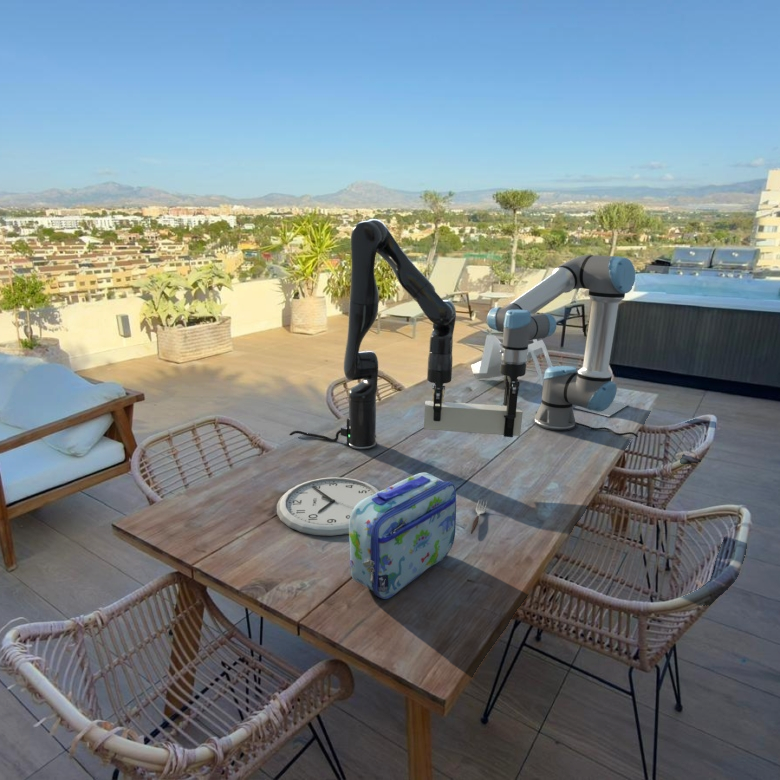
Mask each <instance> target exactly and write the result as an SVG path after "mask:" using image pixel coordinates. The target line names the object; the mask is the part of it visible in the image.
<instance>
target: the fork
mask: <svg viewBox="0 0 780 780" xmlns="http://www.w3.org/2000/svg"><path fill="white" fill-rule="evenodd" d="M482 502H483V503H482ZM487 503H488V500H486V501H485V499H484V500H483V499H481V500H480V498H478V501H477V503H476V504H477V505H476V507H475V513H477V515H476V517H475V518H474V520H473V521H472V527H471V530H470V535H473V532H474V531H475V529H476V528H477V526H478V523H479V519H480V516H481V515H483V514H485V513H486V511H487V505H488V504H487Z"/></svg>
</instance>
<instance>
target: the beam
mask: <svg viewBox="0 0 780 780" xmlns="http://www.w3.org/2000/svg"><path fill="white" fill-rule="evenodd" d="M435 406H440V404H435ZM433 407H434V402H433V401H432V400H425V403H424V413H423V414H424V416H423V417H424V418H423V430H428V431H441V432H442V431H443V432H457V433H470V434H483V435H496V436H497V435H499V436H504V426H505V417H504V415H506V411H507V406H504V405H500V404H499V405H498V404H483V403H469V402H455V401H453V402H452V401H443V403H442V407H441V408H442V409H441V419H440V421H434V420H433V418H434V410H433ZM523 414H524V411H523V409H522V406H517V407H516V418H514V429H513V437H521V432H522V423H523Z"/></svg>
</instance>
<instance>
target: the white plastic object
mask: <svg viewBox="0 0 780 780" xmlns="http://www.w3.org/2000/svg"><path fill="white" fill-rule="evenodd" d="M502 345H503V342H501V341H500V339H499V338H498V337H497V336H496V335H495V334H486V337H485V342H484V345H483V351H482V355H481V356H482V357H481V360H480V361H477V362H475V363H472V364H471V365H470V367H471V370H472V375H473V376H474V377H475V379H476V380H482V379H490V378H492V379H493V378H501V377H503V378H504V379H506V378H505V377H506V376H505V375H503V374H501V373H500V368H501V362H502V361H503V360H502V359H501V358H502V353H500V350H503V349H502ZM540 355H544V358H545V361H546V364H547V368H550V367H554V365H553V362H552V361H551V358H550V354H549V352H548V349H547V346H546V343H545V342H544V340H543V339H534V340H532V342H531V343H528V354H527V361H526V362H525V363H526V364H527V363H529V362H530V361H531V360H532V362H533V364H534V367H535V370H536V373H537V376H538V379H539V382H540V385H541V386H542V388H543V382H544V379H543V378H544V375H543V374H544V373H543V371H542V369H541V365H540V363H539V359H538V356H540Z"/></svg>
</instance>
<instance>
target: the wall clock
mask: <svg viewBox="0 0 780 780" xmlns="http://www.w3.org/2000/svg"><path fill="white" fill-rule="evenodd" d="M380 491H381V490H380V489H379V488H377V487H376V486H374V485H372V484H371V483H369V482H365V481H362V480H359V479H355V478H349V477H338V476H337V477H335V476H333V477H332V476H331V477H322V478H317V479H312V480H307V481H305V482H302V483H299V484H297V485H295V486H293V487H292V488H290V489H288V490H287V491H286V492H285V493H284V494H283V495H281V496H280V498H279V499H278V502H277V503H276V515H277V517H278V518H279V520H280V521H281V522H282V523H283V524H285V525H286V526H287V527H288V528H290V529H293V530H295V531H297V532H299V533H303V534H308V535H312V536H327V537H328V536H329V537H331V536H332V537H333V536H342V535H349V520H350V515H351V513H352V511H353V509H354V507H355V506H356V505H357V504H358V503H359V502H360V501H362V500H363V499H365V498H367V497H370V496H372V495H374V494H376V493H378V492H380Z"/></svg>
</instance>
